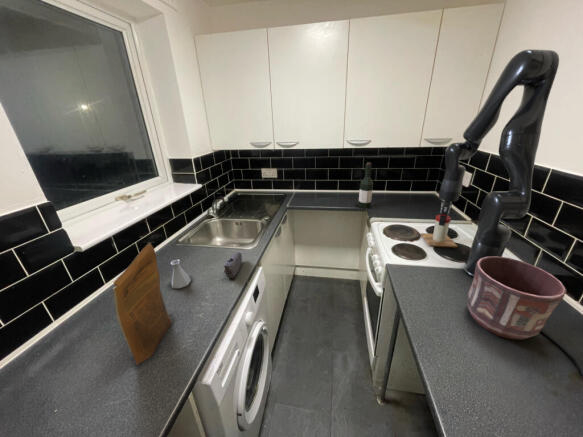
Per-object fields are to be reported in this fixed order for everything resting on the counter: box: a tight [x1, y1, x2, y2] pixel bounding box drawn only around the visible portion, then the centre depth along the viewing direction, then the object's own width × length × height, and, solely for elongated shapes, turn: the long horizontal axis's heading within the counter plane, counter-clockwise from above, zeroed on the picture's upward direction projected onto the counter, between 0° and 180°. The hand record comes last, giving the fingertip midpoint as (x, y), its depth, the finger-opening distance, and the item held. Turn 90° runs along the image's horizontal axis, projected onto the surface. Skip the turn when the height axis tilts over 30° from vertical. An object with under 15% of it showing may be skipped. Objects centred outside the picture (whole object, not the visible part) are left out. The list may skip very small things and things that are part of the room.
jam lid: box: [435, 214, 452, 224], centre depth 109 cm, size 6×6×2 cm
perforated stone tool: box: [223, 251, 243, 279], centre depth 96 cm, size 15×5×7 cm, turn 172°
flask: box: [170, 259, 192, 289], centre depth 89 cm, size 7×7×10 cm
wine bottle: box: [357, 162, 374, 210], centre depth 153 cm, size 8×8×30 cm
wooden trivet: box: [420, 232, 459, 249], centre depth 113 cm, size 12×12×1 cm
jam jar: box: [432, 220, 451, 242], centre depth 111 cm, size 6×6×12 cm
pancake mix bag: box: [111, 242, 172, 366], centre depth 63 cm, size 7×19×28 cm, turn 179°
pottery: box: [466, 256, 567, 341], centre depth 65 cm, size 18×18×18 cm
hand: (441, 222), depth 109 cm, fingers closed on jam lid, 6 cm apart
